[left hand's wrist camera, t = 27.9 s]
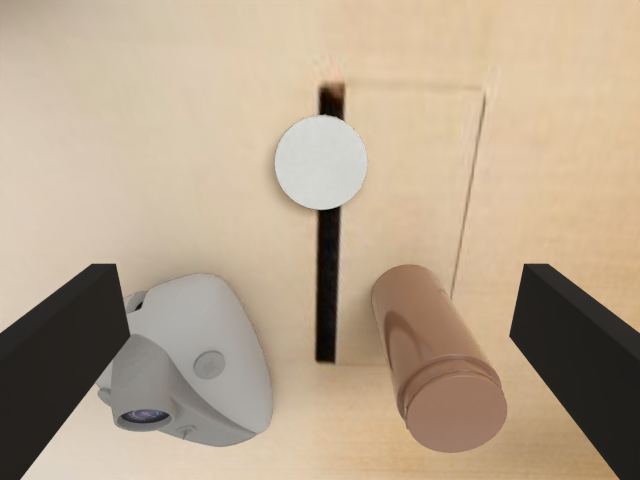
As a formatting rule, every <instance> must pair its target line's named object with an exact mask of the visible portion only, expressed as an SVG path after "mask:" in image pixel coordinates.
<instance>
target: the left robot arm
mask: <svg viewBox="0 0 640 480" xmlns="http://www.w3.org/2000/svg"><path fill="white" fill-rule="evenodd" d="M130 337H131V335H130V330H129V325H128V320H127V316H126V311H125V306H124V301H123V296H122V291H121V286H120V282H119V277H118V272H117V267H116V264H91V265H90V266H88V267H87V268H86V269H84V270H83V271H82V272H80V273H79V274H78V275H76V276H75V277H74V278H73V279H71V280H70V281H69V282H67V283H66V284H65V285H63V286H62V287H61V288H59V289H58V290H57V291H55V292H54V293H53V294H51V295H50V296H49V297H47V298H46V299H45V300H44V301H42V302H41V303H40V304H38V305H37V306H36V307H34V308H33V309H32V310H30V311H29V312H28V313H26V314H25V315H24V316H22V317H21V318H20V319H18V320H17V321H16V322H15V323H13V324H12V325H11V326H9V327H8V328H7V329H5V330H4V331H3V332H1V333H0V480H20V479H21V478H22V477H23V475H24V474H25V473H26V471H27V470H28V469H29V468H30V466H31V465H32V464H33V462H34V461H35V460H36V458H37V457H38V456H39V455H40V453H41V452H42V451H43V449H44V448H45V447H46V446H47V444H48V443H49V442H50V440H51V439H52V438H53V436H54V435H55V434H56V433H57V431H58V430H59V429H60V427H61V426H62V425H63V423H64V422H65V421H66V420H67V418H68V417H69V416H70V414H71V413H72V412H73V411H74V409H75V408H76V407H77V405H78V404H79V403H80V401H81V400H82V399H83V398H84V396H85V395H86V394H87V392H88V391H89V390H90V388H91V387H92V386H93V385H94V383H95V382H96V381H97V379H98V378H99V377H100V376H101V374H102V373H103V372H104V370H105V369H106V368H107V366H108V365H109V364H110V363H111V361H112V360H113V359H114V357H115V356H116V355H117V353H118V352H119V351H120V350H121V348H122V347H123V346H124V344H125V343H126V342H127V340H128V339H129V338H130ZM509 337H510V338H511V339H512V340H513V342H514V343H515V344H516V346H517V347H518V348H519V350H520V351H521V352H522V353H523V355H524V356H525V357H526V359H527V360H528V361H529V363H530V364H531V365H532V366H533V368H534V369H535V370H536V372H537V373H538V374H539V376H540V377H541V378H542V379H543V381H544V382H545V383H546V385H547V386H548V387H549V388H550V390H551V391H552V392H553V394H554V395H555V396H556V398H557V399H558V400H559V401H560V403H561V404H562V405H563V407H564V408H565V409H566V411H567V412H568V413H569V414H570V416H571V417H572V418H573V420H574V421H575V422H576V423H577V425H578V426H579V427H580V429H581V430H582V431H583V433H584V434H585V435H586V436H587V438H588V439H589V440H590V442H591V443H592V444H593V446H594V447H595V448H596V449H597V451H598V452H599V453H600V455H601V456H602V457H603V458H604V460H605V461H606V462H607V464H608V465H609V466H610V468H611V469H612V470H613V471H614V473H615V474H616V475H617V477H618V478H619V479H620V480H640V333H639V332H637V331H636V330H635V329H633V328H632V327H631V326H629V325H628V324H627V323H625V322H624V321H623V320H622V319H620V318H619V317H618V316H616V315H615V314H614V313H612V312H611V311H610V310H608V309H607V308H606V307H604V306H603V305H602V304H600V303H599V302H598V301H596V300H595V299H594V298H593V297H591V296H590V295H589V294H587V293H586V292H585V291H583V290H582V289H581V288H579V287H578V286H577V285H575V284H574V283H573V282H571V281H570V280H569V279H567V278H566V277H565V276H564V275H562V274H561V273H560V272H558V271H557V270H556V269H554V268H553V267H552V266H550V265H549V264H524V267H523V272H522V277H521V282H520V286H519V291H518V296H517V301H516V306H515V311H514V316H513V320H512V325H511V330H510V335H509Z"/></svg>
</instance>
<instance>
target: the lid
mask: <svg viewBox="0 0 640 480" xmlns="http://www.w3.org/2000/svg"><path fill="white" fill-rule="evenodd" d="M275 153H276V154H275V162H274V164H275V172H276V176H277V179H278V181H279V184H280V186H281V187H282V189H283V190H284V192H285V193H286V194H287V195H288V196H289V197H290V198H291V199H292V200H294V201H295V202H296V203H298V204H300V205H302V206H304V207H307V208H311V209H318V210H325V209H331V208H335V207H338V206H340V205H342V204H344V203H346V202H347V201H349V200H350V199H351V198H352V197H353V196H354V195H355V194H356V193H357V192H358V191H359V189H360V188H361V186H362V184H363V182H364V180H365V177H366V173H367V165H368V159H367V153H366V148H365V146H364V144H363V142H362V138H361V137H359V135H358V134H357V133H356V131H355V129H354V128H352V127H351V126H349V125H348V124H347V122H346V121H345V122H344V121H342V120H340V119H338V118H337V117H332V116H327V115H326V114H325V115H316V116H315V115H313V116H310V117H307V118H303V119H302V120H300V121H298V122H297V123H294V124H293V126H292V127H290V129H289V130H288V131H287V130H286V132H285V134H284V136H283V137H282V139H281V140H280V141H279V144H278V147H277V150H276V152H275Z"/></svg>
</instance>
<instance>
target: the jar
mask: <svg viewBox="0 0 640 480" xmlns="http://www.w3.org/2000/svg"><path fill="white" fill-rule="evenodd" d="M372 306H373V310H374V314H375V318H376V322H377V326H378V330H379V334H380V338H381V342H382V346H383V351H384V355H385V359H386V363H387V367H388V371H389V375H390V379H391V383H392V387H393V391H394V396H395V400H396V404H397V408H398V411H399V413H400V415H401V417H402V418H403V419H404V421H405V423H406V428H407V429H409V431H410V433H411V435H412V436H413V437H414V438H415V439H416V440H417V441H418V442H419V443H420V444H422V445H423V446H425V447H427V448H429V449H432V450H435V451H439V452H448V453H453V452H463V451H467V450H471V449H474V448H476V447H479V446H481V445H483V444H484V443H486V442H487V441H489V440H490V439H492V438H493V437H494V436H495V435H496V434H497V433H498V432H499V430H500V429H501V427H502V426H503V424H504V422H505V419H506V415H507V403H506V400H505V397H504V393H503V391H502V389H501V382H500V379H499V376H498V375H497V373H496V371H495V370H494V368H493V367H492V365H491V363H490V362H489V360H488V359H487V357H486V355H485V354H484V352H483V351H482V349H481V347H480V346H479V344H478V343H477V341H476V339H475V338H474V336H473V335H472V333H471V331H470V330H469V328H468V327H467V325H466V323H465V322H464V320H463V319H462V317H461V315H460V314H459V312H458V311H457V309H456V307H455V306H454V304H453V303H452V301H451V299H450V298H449V296H448V295H447V293H446V292H445V290H444V288H443V287H442V285H441V284H440V282H439V280H438V279H437V277H436V276H435V275H434V274H433V273H432V272H431V271H429V270H428V269H426V268H424V267H421V266H417V265H402V266H398V267H395V268H392V269H390V270H389V271H387V272H386V273H384V274H383V275H382V276H381V277H380V278H379V279H378V281H377V282H376V284H375V286H374V288H373V291H372Z"/></svg>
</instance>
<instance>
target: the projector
mask: <svg viewBox="0 0 640 480" xmlns="http://www.w3.org/2000/svg"><path fill="white" fill-rule="evenodd" d="M123 301H124V306H125V311H126V316H127V320H128V325H129V330H130V335H131V337H130V338H129V339H128V340H127V342H126V343H125V344H124V346H123V347H122V348H121V350H120V351H119V352H118V353H117V355H116V356H115V357H114V359H113V360H112V361H111V363H110V364H109V365H108V366H107V368H106V369H105V370H104V372H103V373H102V374H101V376H100V377H99V378H98V379H97V381H96V382H95V383H96V385H97V386H98V387H99V388H100V390H99V391H98V396H99V397H100V399H101V400H102V401H104V402H105V403H106V404H107V405H109V406H111V407H112V413H113V419H114V423H115V425H116V426H118V427H120V428H122V429H125V430H128V431H138V432H145V431H154V430H158V431H161V432H163V433H166V434H169V435H172V436H175V437H178V438H181V439H183V440H188V441H192V442H196V443H199V444H204V445H209V446H215V447H225V446H231V445H235V444H238V443H241V442H244V441H246V440H249V439H251V438H253V437H255V436H256V435H257V434H260V433H261V432H263V431H265V430H266V429H267V428H268V426H269V424H270V421H271V418H272V413H273V396H272V387H271V380H270V375H269V370H268V367H267V363H266V359H265V356H264V353H263V350H262V348H261V345H260V342H259V340H258V337H257V335H256V332H255V330H254V328H253V326H252V324H251V322H250V319H249V317H248V315H247V314H246V312H245V310H244V308H243V306H242V304H241V303H240V301H239V299H238V297H237V296H236V294H235V293H234V291H233V290H232V289H231V287H230V286H229V285H228V284H227V283H226V282H225V281H224V280H223V279H222V278H220V277H218V276H216V275H212V274H206V273H197V274H191V275H187V276H183V277H180V278H176V279H173V280H170V281H167V282H164V283H162V284H159V285H156V286H154V287H152V288H151V289H150V290H149V291H148V292H145V291H142V292H138V293H135V294H133V295H130V296H128V297H125V298H123Z"/></svg>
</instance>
